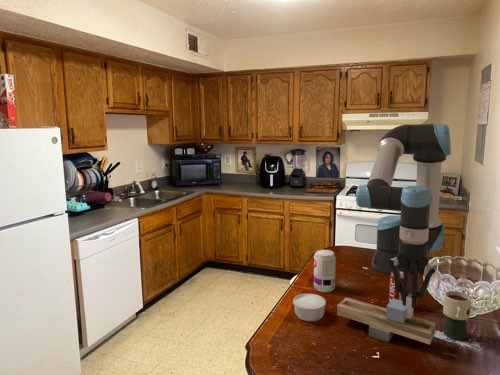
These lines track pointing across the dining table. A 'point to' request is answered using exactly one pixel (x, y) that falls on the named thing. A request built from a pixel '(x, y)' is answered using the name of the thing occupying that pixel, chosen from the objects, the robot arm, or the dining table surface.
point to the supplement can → (324, 271)
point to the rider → (396, 311)
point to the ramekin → (309, 307)
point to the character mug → (456, 313)
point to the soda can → (392, 291)
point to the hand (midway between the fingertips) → (409, 316)
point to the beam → (386, 322)
